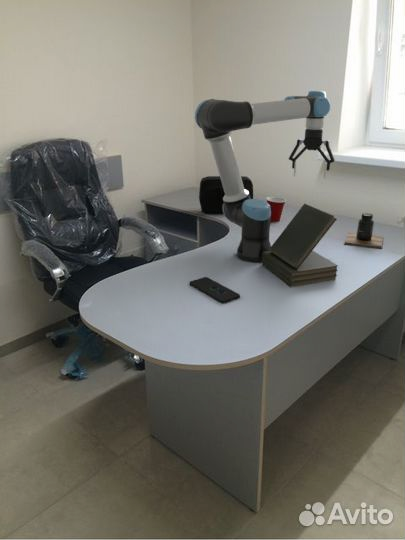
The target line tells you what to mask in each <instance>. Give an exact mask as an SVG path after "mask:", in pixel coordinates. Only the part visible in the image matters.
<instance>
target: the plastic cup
mask: <svg viewBox="0 0 405 540" xmlns="http://www.w3.org/2000/svg"><path fill="white" fill-rule="evenodd" d="M265 200H266V202H267V203H268V204H269V205H270V207H271V216H270V222H273V223H275V222H276V223H277V222H280V220H281V217H282V213H283V209H284V205H285V204H286V202H287V199H285V198H283V197H278V196H268V197H265Z"/></svg>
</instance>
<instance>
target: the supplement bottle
mask: <svg viewBox="0 0 405 540" xmlns="http://www.w3.org/2000/svg"><path fill="white" fill-rule="evenodd" d="M373 219H374V214H373V213H369V212H363V213H361V217H360V218H359V220H358V224H357V230H356V233H357V235H356V238H357V239H358V240H361V241H370V240H371V239H372V235H373V232H374V225H375V221H374V220H373Z"/></svg>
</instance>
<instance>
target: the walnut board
mask: <svg viewBox="0 0 405 540" xmlns="http://www.w3.org/2000/svg"><path fill="white" fill-rule="evenodd" d="M356 235H357V232H350V231H349V232H347V234H346V237H345V240H344V244H343V245H348V246H354V247H355V246H356V247H364V248H373V249H374V248H375V249H382V248H383V240H384V236H383V235H377V234H372V239H371V240H370V241H361V240H358V239H357V238H356Z"/></svg>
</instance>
